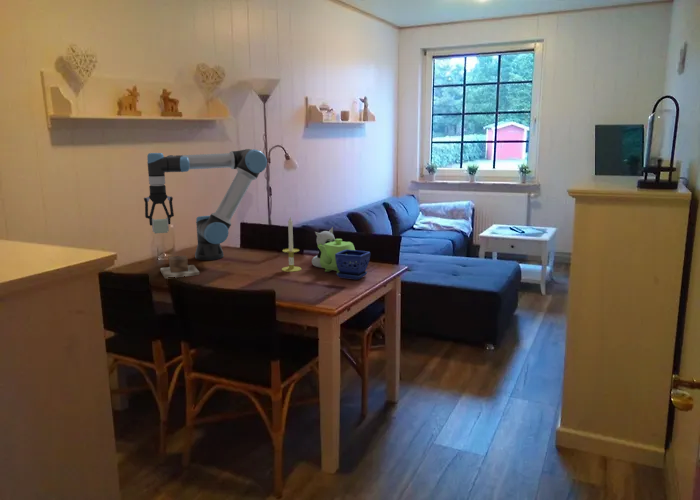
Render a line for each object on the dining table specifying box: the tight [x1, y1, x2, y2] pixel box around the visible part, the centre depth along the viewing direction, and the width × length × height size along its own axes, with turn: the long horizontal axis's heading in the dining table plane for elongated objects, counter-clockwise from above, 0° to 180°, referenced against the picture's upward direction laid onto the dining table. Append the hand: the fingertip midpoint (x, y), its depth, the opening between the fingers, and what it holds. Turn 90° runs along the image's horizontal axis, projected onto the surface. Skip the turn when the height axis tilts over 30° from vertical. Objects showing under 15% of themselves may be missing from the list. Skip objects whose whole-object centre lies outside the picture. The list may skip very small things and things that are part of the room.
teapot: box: [317, 238, 356, 274], centre depth 274 cm, size 25×22×16 cm
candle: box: [281, 216, 302, 273], centre depth 275 cm, size 10×10×27 cm
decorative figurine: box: [311, 226, 336, 269], centre depth 283 cm, size 15×15×20 cm
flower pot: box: [335, 249, 371, 281], centre depth 261 cm, size 13×13×12 cm
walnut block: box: [168, 255, 189, 273], centre depth 270 cm, size 8×8×6 cm
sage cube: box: [153, 218, 169, 234], centre depth 276 cm, size 6×6×6 cm
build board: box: [160, 264, 200, 280], centre depth 271 cm, size 16×16×2 cm
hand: (160, 231), depth 277 cm, fingers closed on sage cube, 6 cm apart
